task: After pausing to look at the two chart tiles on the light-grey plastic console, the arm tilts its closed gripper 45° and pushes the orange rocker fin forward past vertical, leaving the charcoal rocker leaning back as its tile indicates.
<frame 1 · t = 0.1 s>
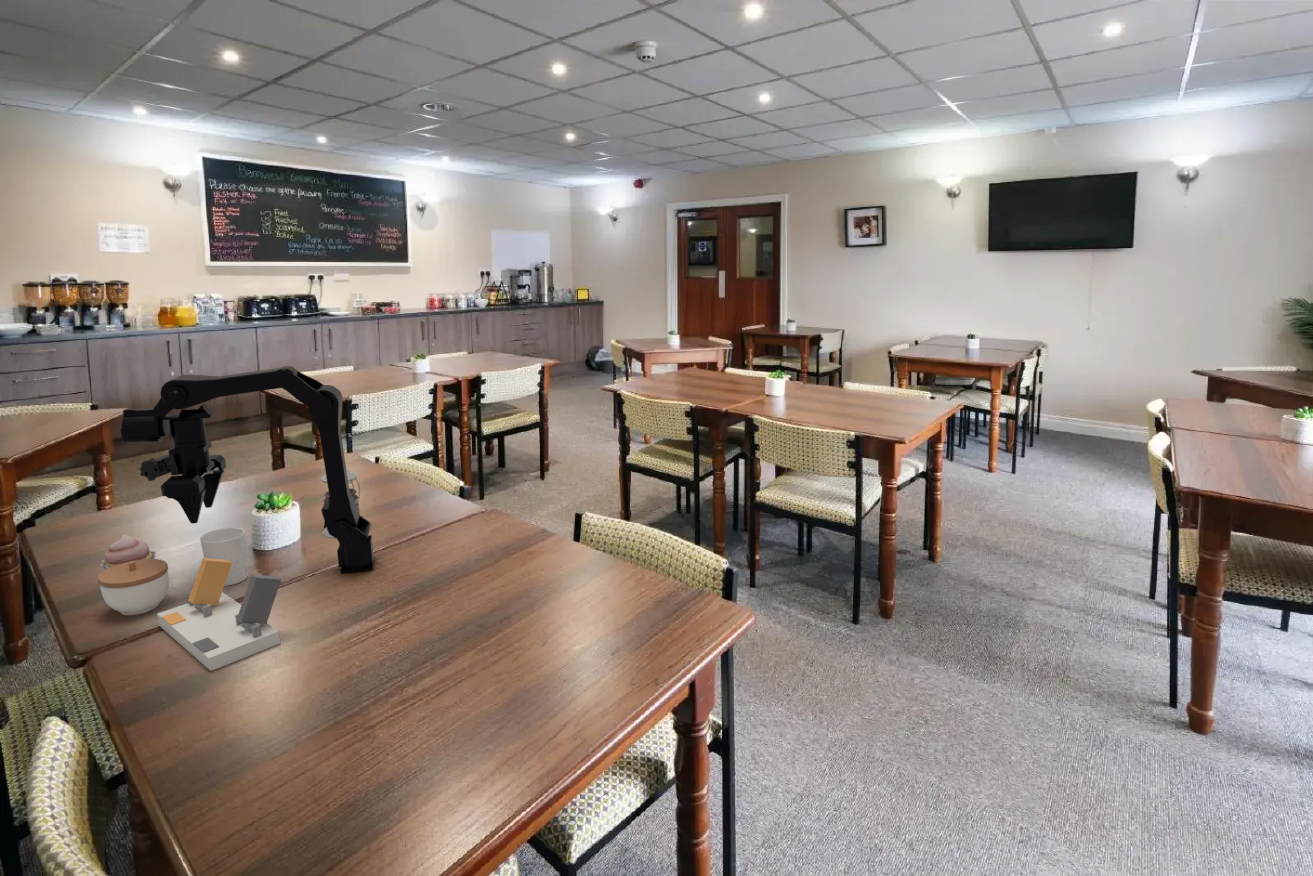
hand: (201, 515, 143), 15 cm above the table, tool pointing down, fingers open, 9 cm apart
cupcake: (132, 580, 146), on the table
white cup: (229, 580, 147), on the table
french press: (346, 529, 175), on the table
switch console: (218, 634, 126), on the table
orange rocker: (209, 584, 130), point 7 cm above the table, hinge at -25.0°
charcoal rocker: (258, 602, 124), point 7 cm above the table, hinge at -25.0°
lidded jar: (140, 608, 135), on the table
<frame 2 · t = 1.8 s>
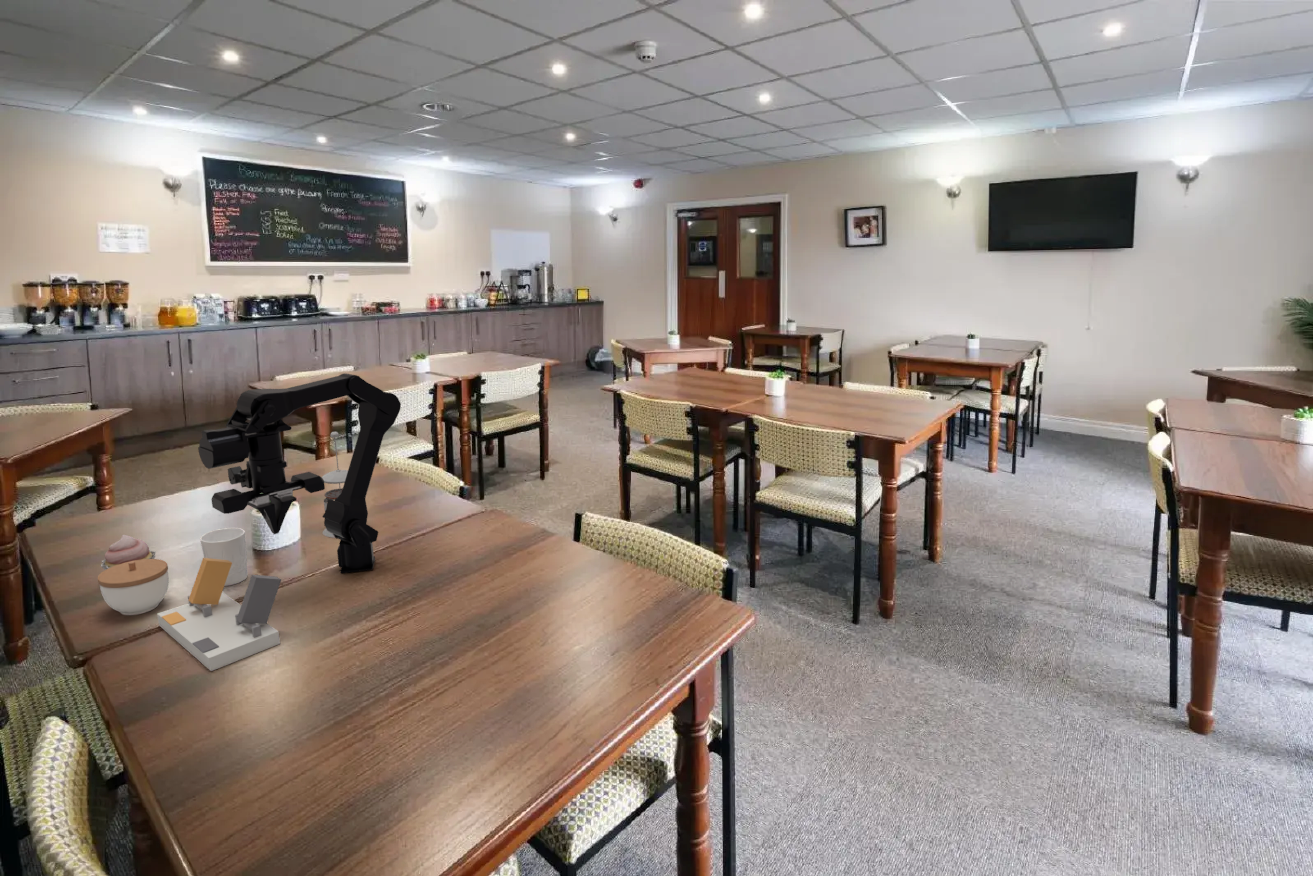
hand: (275, 533, 138), 13 cm above the table, tool pointing down, fingers closed
nothing on the table moved.
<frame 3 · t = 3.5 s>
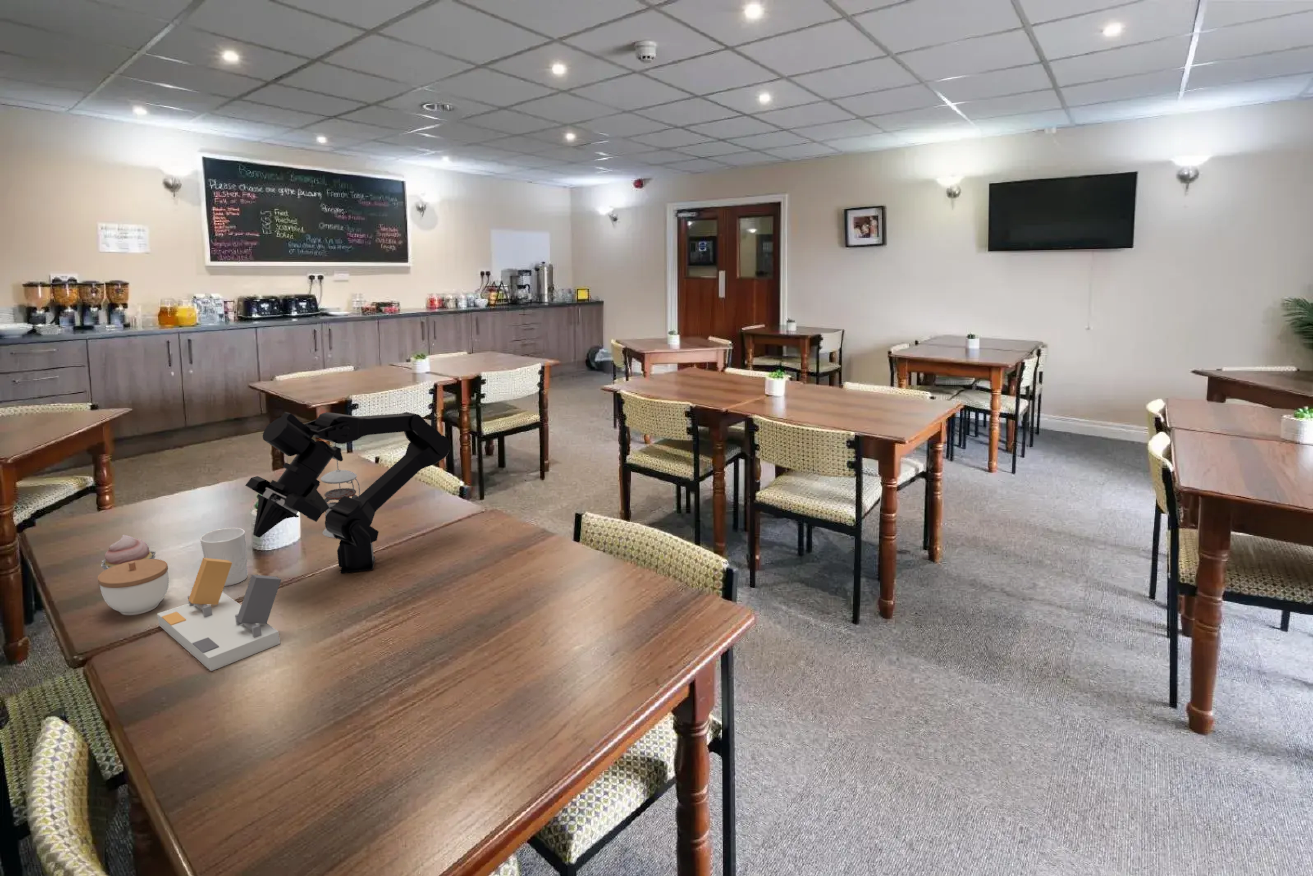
hand: (256, 536, 136), 13 cm above the table, tool tilted 45°, fingers closed
nothing on the table moved.
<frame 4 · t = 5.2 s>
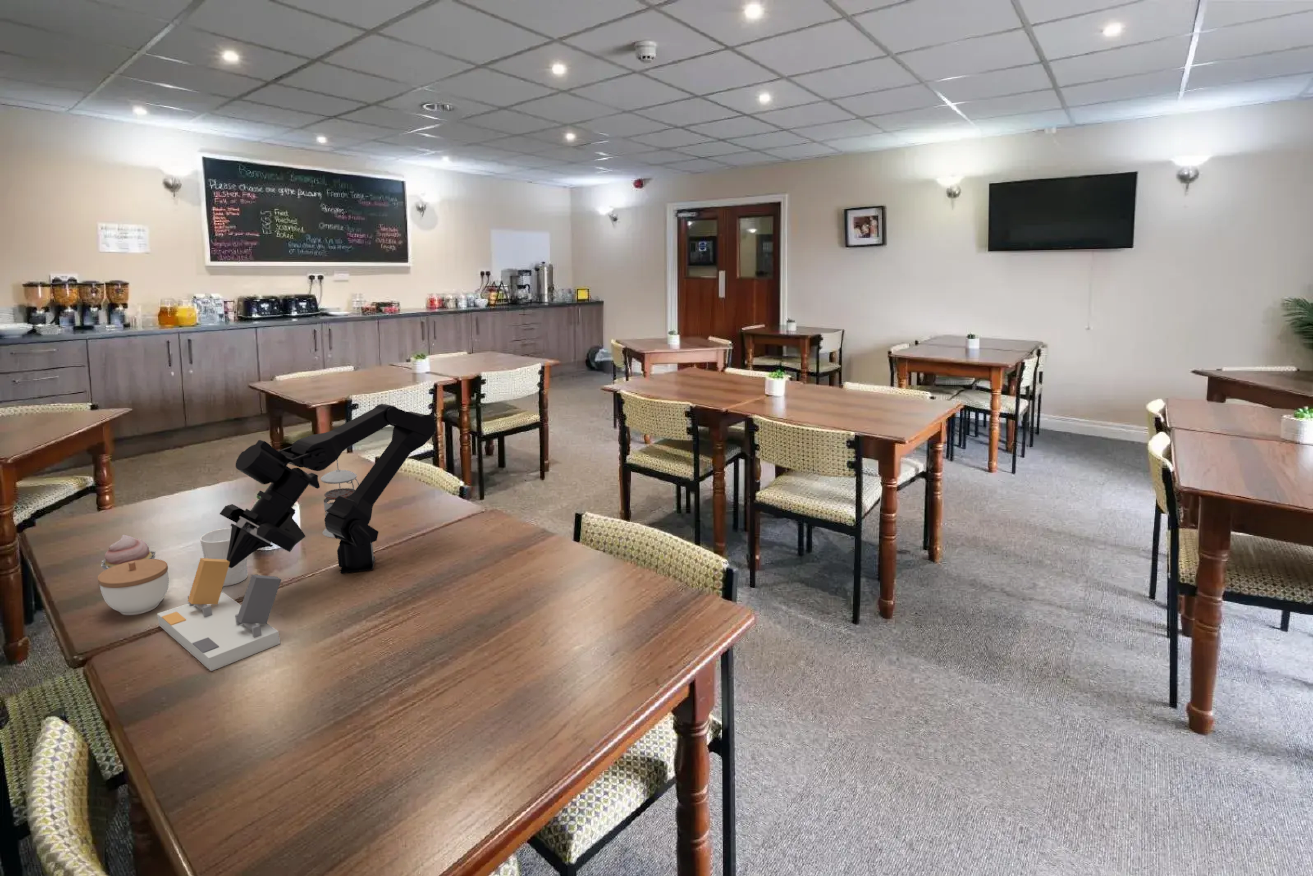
hand: (228, 566, 132), 9 cm above the table, tool tilted 45°, fingers closed, pressing on orange rocker
orange rocker: (208, 584, 130), point 7 cm above the table, hinge at -22.4°, touching gripper
everything else where it was.
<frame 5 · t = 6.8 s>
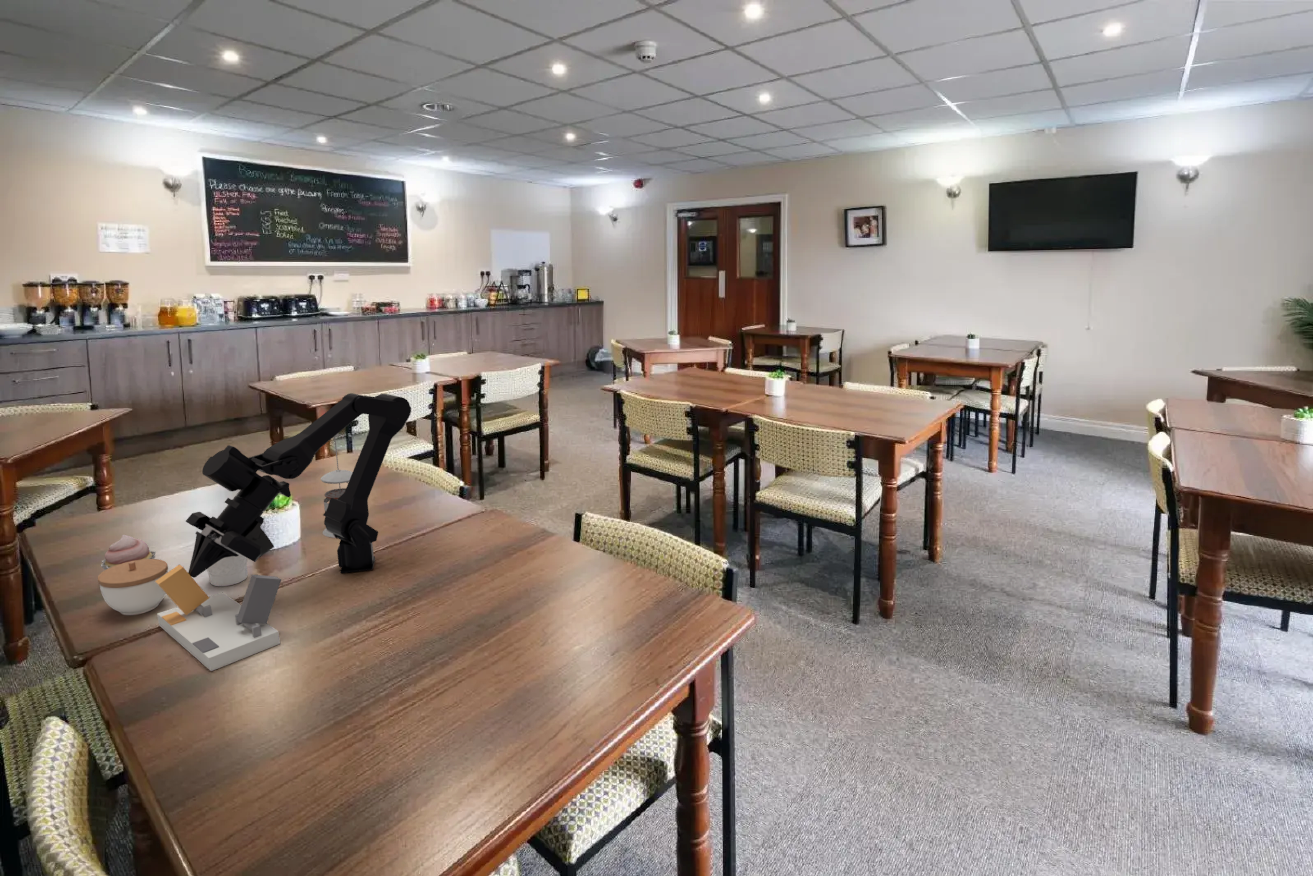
hand: (191, 576, 127), 9 cm above the table, tool tilted 45°, fingers closed, pressing on orange rocker
orange rocker: (184, 592, 127), point 7 cm above the table, hinge at 24.3°, touching gripper
everything else where it was.
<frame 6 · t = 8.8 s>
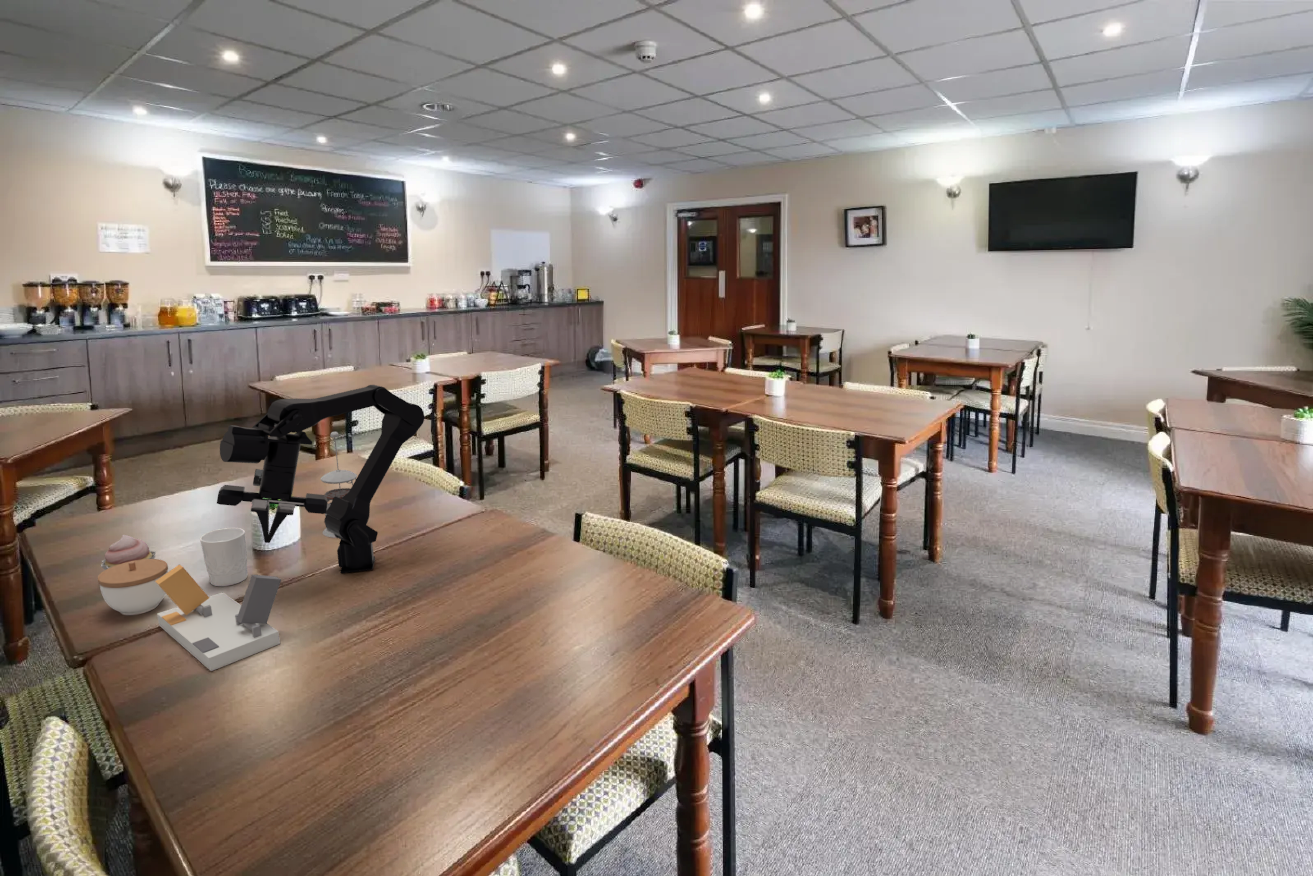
hand: (267, 542, 138), 11 cm above the table, tool tilted 15°, fingers closed
orange rocker: (184, 592, 127), point 7 cm above the table, hinge at 24.3°
everything else where it was.
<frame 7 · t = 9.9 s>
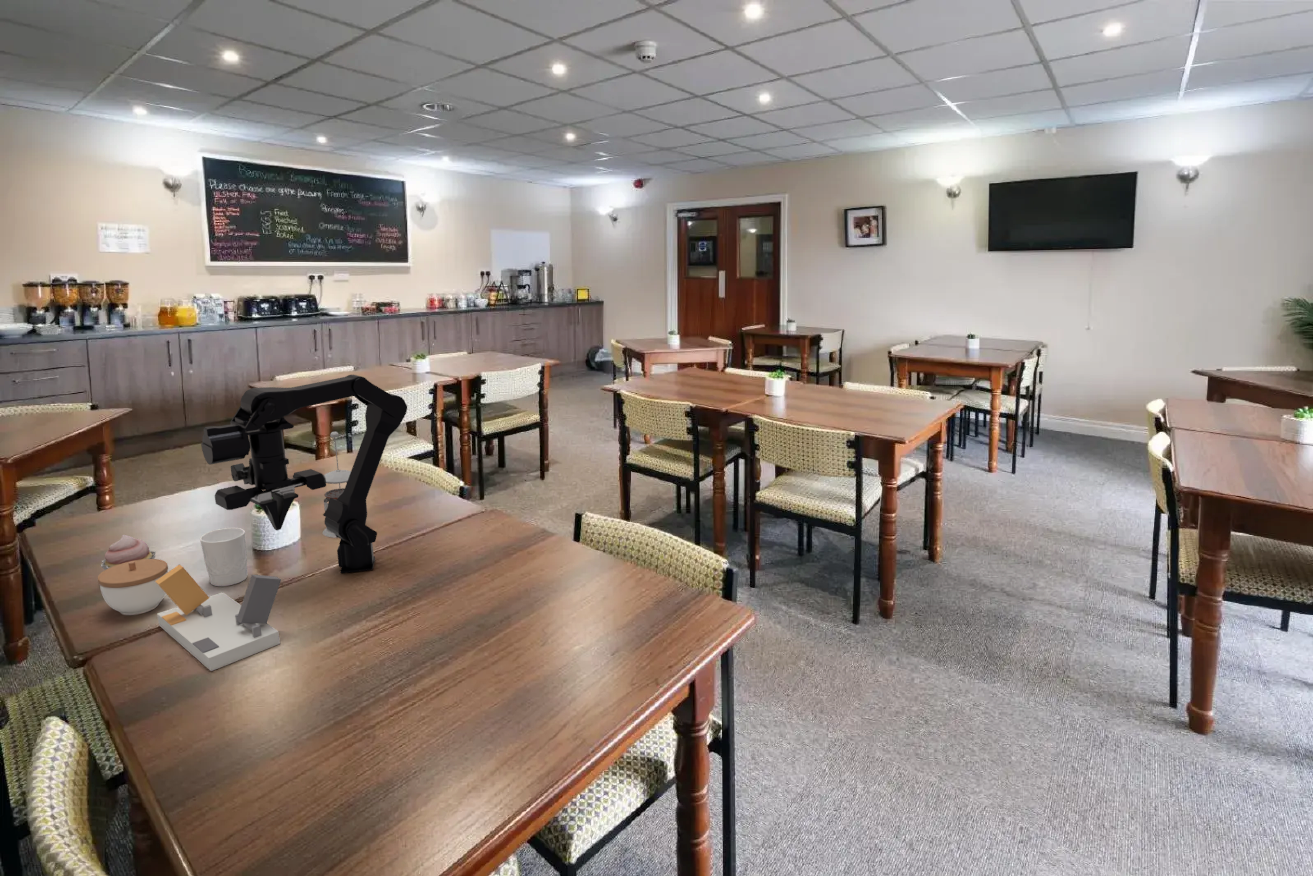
hand: (277, 529, 140), 13 cm above the table, tool pointing down, fingers closed
nothing on the table moved.
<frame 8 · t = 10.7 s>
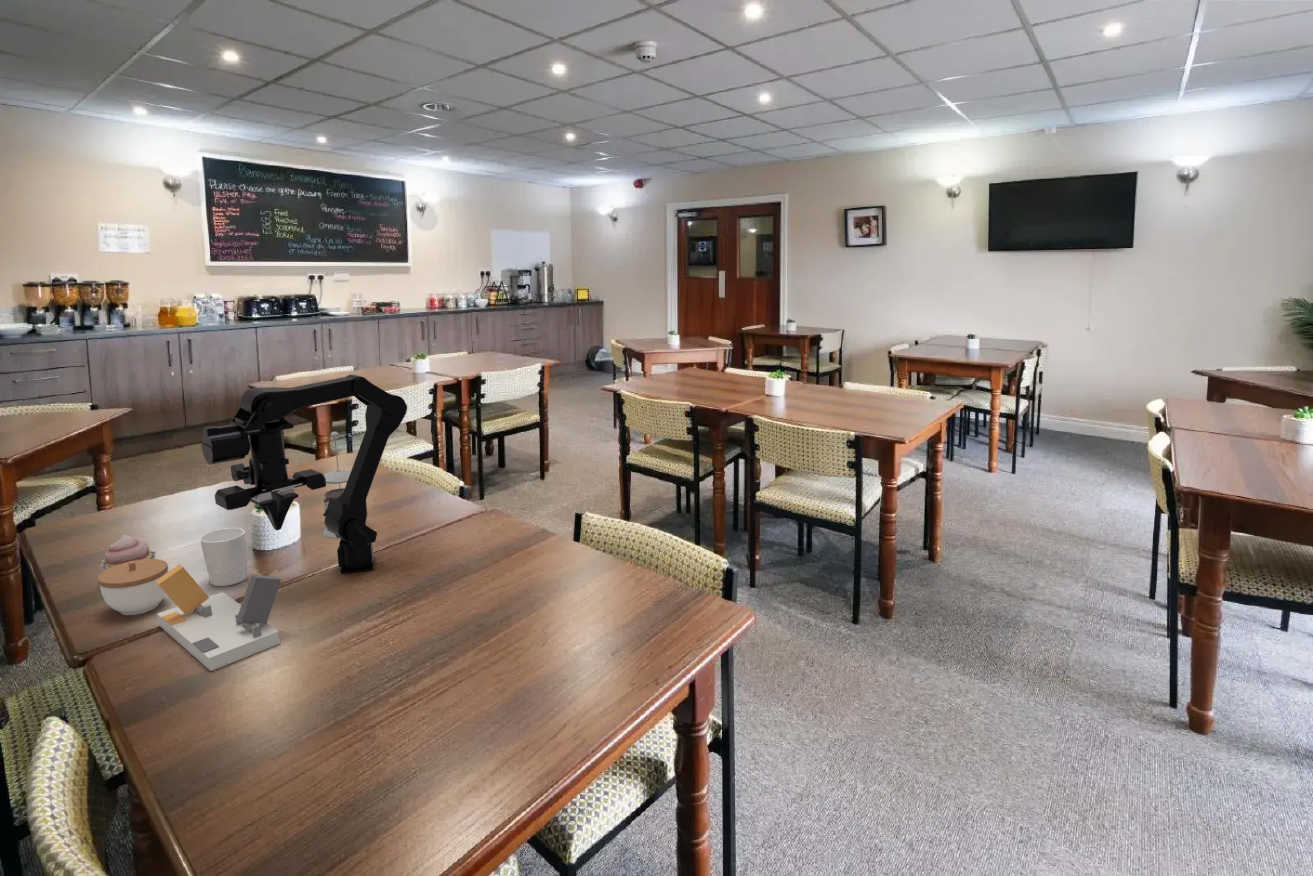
hand: (277, 529, 140), 13 cm above the table, tool pointing down, fingers closed
nothing on the table moved.
at the end: orange rocker at +24° (first picture: -25°); charcoal rocker at -25° (first picture: -25°) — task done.
